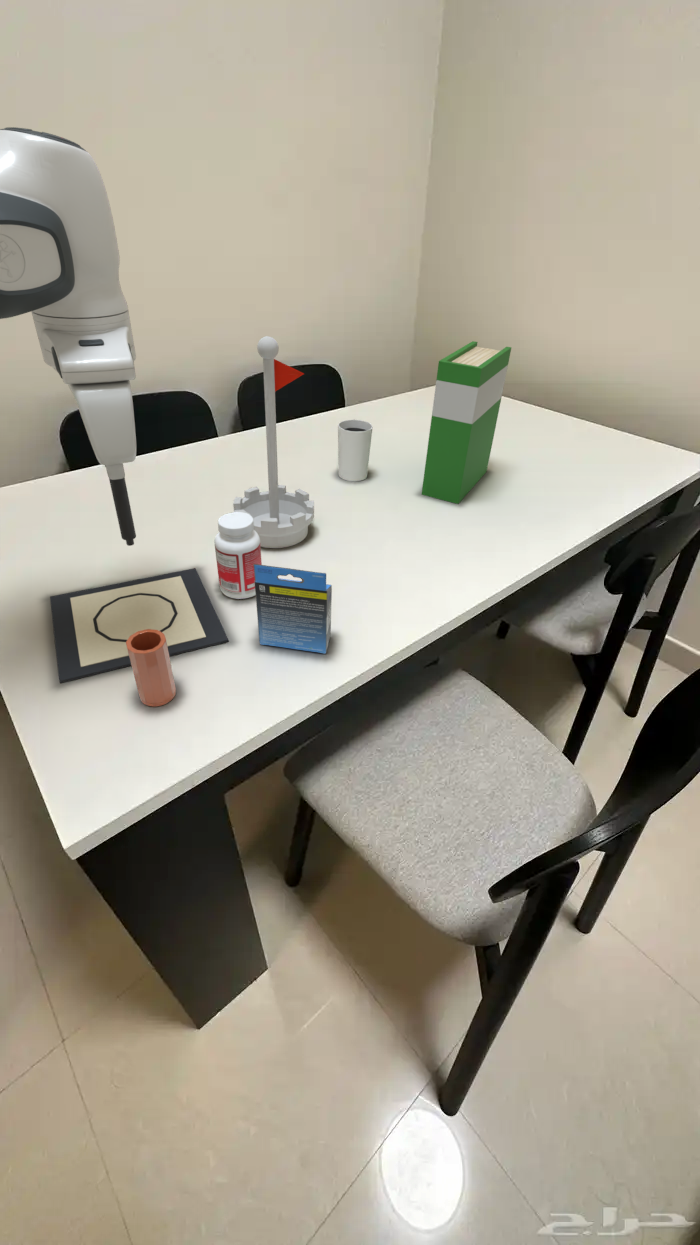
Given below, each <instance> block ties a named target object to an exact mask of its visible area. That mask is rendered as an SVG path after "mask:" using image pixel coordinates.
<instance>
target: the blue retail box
mask: <svg viewBox="0 0 700 1245" xmlns="http://www.w3.org/2000/svg"><path fill="white" fill-rule="evenodd" d="M253 565H254V575H255V593H256V595H255V602H256V616H257V617H256V618H257V630H258V631H257V632H258V642H259V645H263V646H270V647H277V648H278V647H279V648H286V649H291V650H297V651H306V652H312V653H320V654H327V651H328V647H329V644H330V640H331V632H332V631H331V630H332V601H333V600H332V598H333V596H332V594H333V587H332V584H327V573H326V572H317V571H312V570H303V569H302V570H301V569H297V568H290V567H282V566H281V567H280V566H275V565H266V564H262V565H260V564H253ZM289 575H291V576H292V577H293V578H298V579H300V580H295V579H287V578H279V576H282V577H287V576H289Z"/></svg>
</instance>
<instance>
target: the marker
mask: <svg viewBox="0 0 700 1245" xmlns="http://www.w3.org/2000/svg"><path fill="white" fill-rule="evenodd" d="M125 477H126V476H125ZM125 477H124V478H123V479H116V480H111V479H109V478H108V480H109V485H110V489H111V493H112V498H113V504H114V508H115V512H116V517H117V522H118V526H119V531H120V536H121V539H122V540H123V541H125V543H126V545H127V546H130V547H131V546H134V544H135V539H136V538H137V534H136V529H135V523H134V518H133V513H132V508H131V502H130V497H129V492H128V488H127V482H126V478H125Z"/></svg>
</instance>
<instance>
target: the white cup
mask: <svg viewBox="0 0 700 1245" xmlns="http://www.w3.org/2000/svg"><path fill="white" fill-rule="evenodd" d="M373 427H374V426H373V424H372V423H371V422H369V421H366V420H361V419H346V420H342V421H340V422H338V424H337V452H338V453H337V460H338V462H337V464H338V465H337V467H338V470H337V471H338V477H339V478H340V479H342V480H344V481H348V482H360V481H363V480H366V479H367V478H368V471H369V464H370V454H371V446H372V445H371V444H372V438H373V437H372V436H373Z"/></svg>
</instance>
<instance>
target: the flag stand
mask: <svg viewBox="0 0 700 1245" xmlns="http://www.w3.org/2000/svg"><path fill="white" fill-rule="evenodd" d="M256 346H257V347H256V348H257V352H258V355H259V356H260V357H261V358H262V368H263V392H264V413H265V414H264V415H265V435H266V436H265V437H266V461H267V480H268V484H267V485H268V490H267V491H260V488H258V486H254V487H253V486H252V487H250V488H247V489H245V490H244V491H243V492H244V495H243V496H244V497H242V496H241V497H240V496H235V498H234V499H233V502H232V506H233V512H243V513H247V514H249V515H251V516H252V518H253V522H254V529H253V530H255V531H256V532H257V533H258V535H259V538H260V547H261V548H268V549H281V548H288V547H292V546H295V545H297V544H299V543H301V542H303V541H304V540H305V539H306V538H307V537H308V533H309V526H310V525H311V523H312V522H313V521H314V517H315V500H310V493H309V492H307V491H306V490H304V489H301V488H298V489H295V491H294V492H291V491H287V485H283V484H279V474H278V472H279V471H278V468H279V467H278V444H277V443H278V441H277V413H276V411H277V410H276V408H277V407H276V392H277V391H279V390H280V389H282V388H284V387H285V386H287V385H288V384H290V383H292V382H294V381H295V380H297V379H299V378H300V377H302V376H303V375H305V373H304V372H302V371H300V370H298V369H296V368H294V367H292V366H290V365H287V364H286V363H284V362H282V361H279V360H277V359H275V358H276V357H277V356H278V354H279V350H280V349H279V342H278V341H277V340H276V339H275V338H274V337H272V336H269V335H265V336H263V337H261V338H260V339H259V340H258V342H257V345H256Z"/></svg>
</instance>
